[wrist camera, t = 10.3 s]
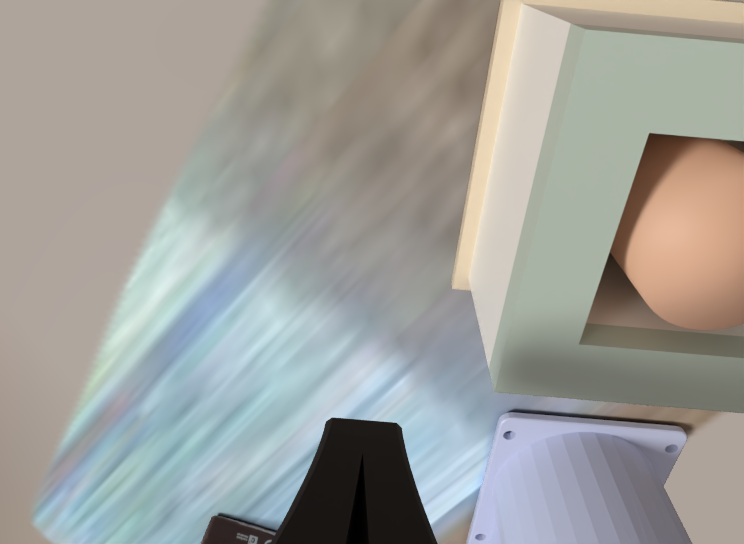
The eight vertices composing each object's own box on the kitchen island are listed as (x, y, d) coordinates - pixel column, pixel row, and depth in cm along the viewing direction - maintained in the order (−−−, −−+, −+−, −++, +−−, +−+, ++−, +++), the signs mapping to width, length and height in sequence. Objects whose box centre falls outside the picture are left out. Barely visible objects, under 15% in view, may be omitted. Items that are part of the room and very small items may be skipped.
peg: (672, 230, 19) (778, 336, 14) (555, 221, 19) (617, 323, 14) (717, 111, 17) (861, 182, 12) (586, 101, 17) (672, 168, 12)
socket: (716, 304, 21) (835, 434, 15) (451, 281, 21) (472, 404, 15) (852, 12, 16) (1105, 46, 10) (504, -19, 16) (565, -3, 10)
